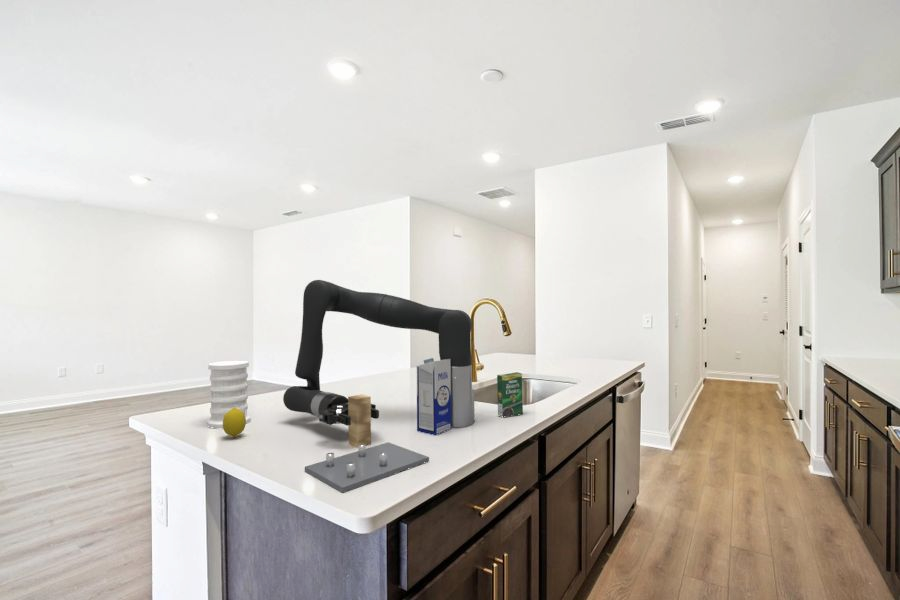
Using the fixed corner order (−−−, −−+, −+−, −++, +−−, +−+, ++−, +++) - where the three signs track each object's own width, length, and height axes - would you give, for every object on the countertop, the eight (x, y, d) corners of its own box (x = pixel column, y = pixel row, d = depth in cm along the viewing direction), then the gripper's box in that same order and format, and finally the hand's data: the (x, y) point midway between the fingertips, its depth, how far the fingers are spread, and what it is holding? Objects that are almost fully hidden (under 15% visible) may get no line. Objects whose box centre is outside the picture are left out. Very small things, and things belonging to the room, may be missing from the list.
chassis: (388, 446, 108) (388, 432, 108) (429, 461, 97) (429, 445, 97) (304, 471, 92) (304, 454, 92) (342, 492, 81) (342, 474, 81)
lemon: (240, 433, 119) (239, 404, 120) (249, 437, 116) (249, 407, 116) (219, 438, 115) (218, 408, 115) (228, 442, 112) (228, 411, 112)
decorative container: (228, 430, 122) (228, 366, 122) (197, 426, 126) (197, 364, 126) (259, 419, 133) (258, 361, 133) (229, 416, 137) (229, 359, 137)
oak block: (362, 440, 112) (361, 394, 112) (370, 444, 109) (370, 396, 109) (348, 444, 109) (348, 396, 109) (357, 448, 107) (357, 399, 107)
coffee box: (502, 418, 133) (501, 375, 133) (496, 416, 135) (496, 374, 135) (523, 414, 136) (523, 373, 136) (517, 412, 139) (517, 371, 139)
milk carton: (435, 435, 116) (434, 360, 116) (416, 431, 120) (416, 358, 120) (451, 429, 122) (450, 357, 122) (432, 425, 126) (432, 356, 126)
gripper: (305, 397, 114) (338, 407, 103) (352, 389, 125) (387, 398, 113) (306, 426, 114) (338, 439, 103) (352, 415, 125) (387, 426, 113)
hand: (364, 417), depth 108 cm, fingers open, 8 cm apart
